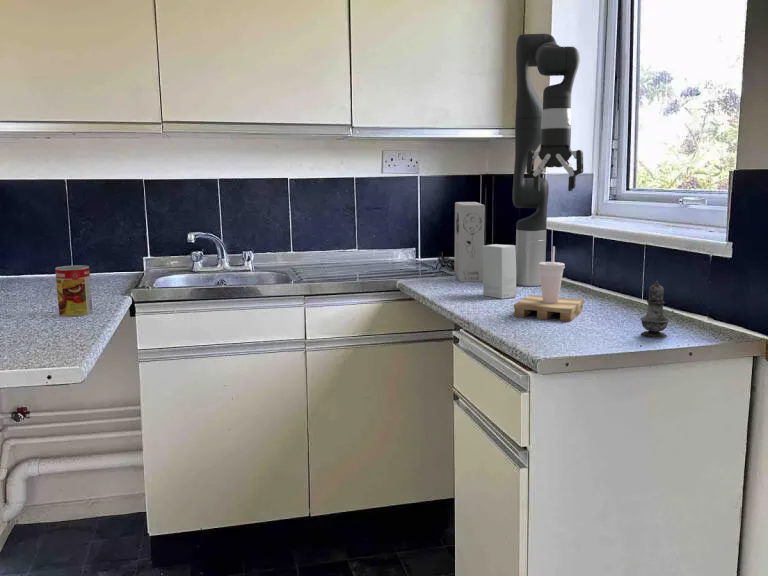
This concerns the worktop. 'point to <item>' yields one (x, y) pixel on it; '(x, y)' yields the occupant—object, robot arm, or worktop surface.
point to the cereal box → (469, 241)
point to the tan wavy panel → (549, 308)
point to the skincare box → (499, 271)
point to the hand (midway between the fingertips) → (553, 191)
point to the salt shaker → (655, 314)
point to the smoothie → (551, 279)
